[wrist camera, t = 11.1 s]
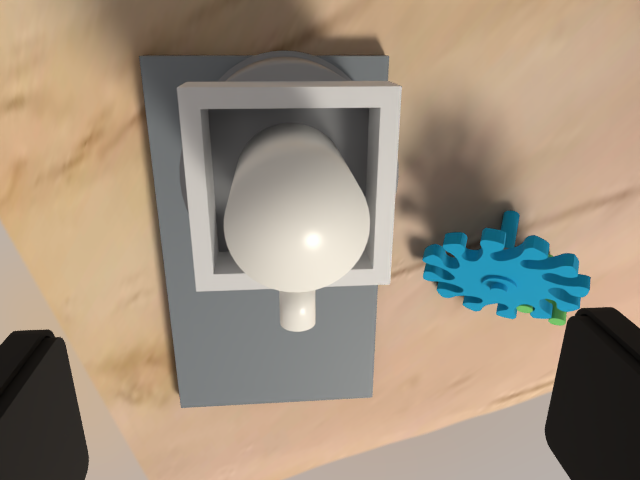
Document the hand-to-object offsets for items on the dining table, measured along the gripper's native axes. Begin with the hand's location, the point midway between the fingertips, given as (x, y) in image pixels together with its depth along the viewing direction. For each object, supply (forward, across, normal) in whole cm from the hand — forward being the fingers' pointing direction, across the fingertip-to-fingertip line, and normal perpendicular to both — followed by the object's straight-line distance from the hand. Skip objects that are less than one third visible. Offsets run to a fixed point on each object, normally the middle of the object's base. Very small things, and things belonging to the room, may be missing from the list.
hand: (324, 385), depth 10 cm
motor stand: (+24, +1, +7) cm, 25 cm away
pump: (+15, 0, 0) cm, 15 cm away
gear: (+24, -14, +8) cm, 29 cm away
